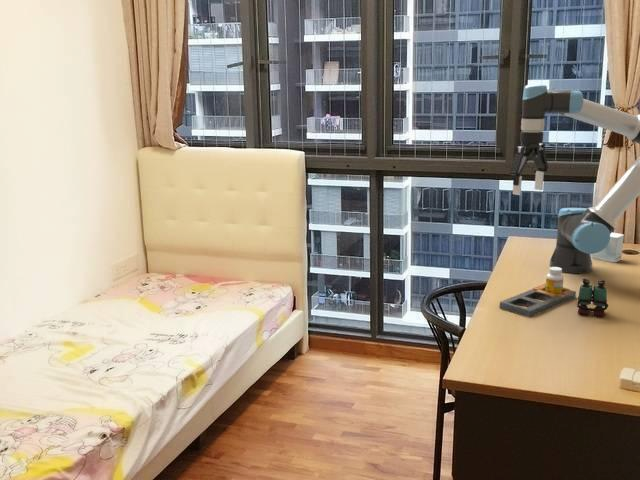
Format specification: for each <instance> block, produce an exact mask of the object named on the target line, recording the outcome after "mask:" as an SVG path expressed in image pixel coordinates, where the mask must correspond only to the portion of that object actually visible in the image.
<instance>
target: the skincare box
mask: <svg viewBox="0 0 640 480" xmlns="http://www.w3.org/2000/svg"><path fill="white" fill-rule="evenodd" d="M624 237H625V234H623V233H617V232H614V231H613V232H612V233H611V234H610V241H609V244H608V245H607V247H606V248H605V249H603V250H602V251H600V252H598V253H593V254H590V256H591V259H594V260H600V261H604V262H608V263H613V262H614V263H613V264H615V263H617V262H619V261H622V256H623V255H622V254H623V247H624Z"/></svg>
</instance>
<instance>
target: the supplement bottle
mask: <svg viewBox="0 0 640 480" xmlns="http://www.w3.org/2000/svg"><path fill="white" fill-rule="evenodd" d="M545 278H546V281H545V283H546V289H545V291H547V292H551V293H554V294H559V293H562V290H563V287H564V275H563V273H562V268H559V267H550V266H549V268H548V274H546V277H545Z"/></svg>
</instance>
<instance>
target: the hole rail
mask: <svg viewBox="0 0 640 480" xmlns="http://www.w3.org/2000/svg"><path fill="white" fill-rule="evenodd" d="M545 289H546V282H545V283H543V284H541V285H537V286H535V287H533V288H531V289H528V290H527V291H524V292H521V293H519V294H516V295H514V296H512V297H508V298H506V299H504V300H501V301H499V308H500V309H502V310H506V311H508V310H509V311H508V312H511V313H515V314H519V315H522V316H525V317H528V318H532V317H534V316H535V315H538V314H540V313H543V312H544V311H547V310H549V309H552V308H554V307H556V306H559V305H561V304H564V303H566V302H568V301H570V300H573V299H576V297H577V296H576V293H577V291H575V290H572V289H570V288H566V287H564V286H563V290H562V293H559V294H554V293H551V292H547V291H545ZM537 299H539V300H537ZM542 300H543V301H542ZM519 305H522V306H519ZM523 306H526V307H523Z"/></svg>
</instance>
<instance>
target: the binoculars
mask: <svg viewBox="0 0 640 480" xmlns="http://www.w3.org/2000/svg"><path fill="white" fill-rule="evenodd" d="M582 283H583V284H581V285H580V286H579V290H578V296H577V302H576V303H577V304H576V307H577V308H578V309H577V314H578V315H579V316H581V317H588V316H589V314H590V312H593V317H595V318H598V319H599V318H600V319H601V318H604V317H605V316H606V314H605V313H606V310H607V309H608V308H609V304H608V303H607V302H608V299H607V295H608V294H607V292H608V291H607V290H608V289H607V287H606V280H604V279H603V280H599V281H597V284H598V285H594V286H593V285H592V284H590V283H591V281H590V280H589V279H588V278H587V279H586V278H582ZM591 304H592V305H593V306H595V307H593V308H592V307H589V306H590V305H591Z"/></svg>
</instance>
